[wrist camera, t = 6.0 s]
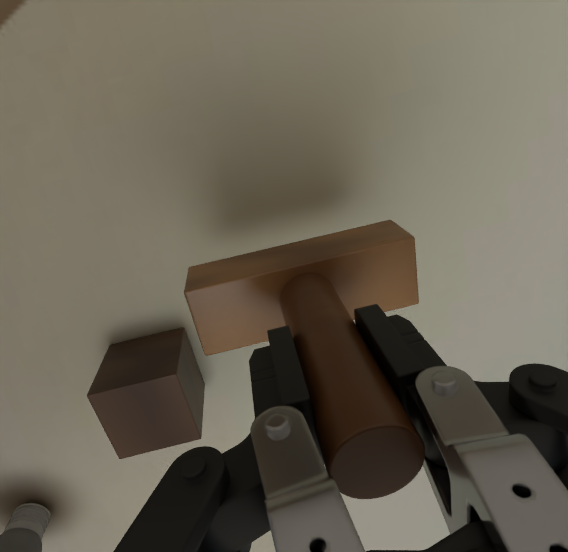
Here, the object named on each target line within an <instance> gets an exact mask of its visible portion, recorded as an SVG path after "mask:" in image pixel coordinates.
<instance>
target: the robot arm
mask: <svg viewBox="0 0 568 552" xmlns="http://www.w3.org/2000/svg"><path fill="white" fill-rule="evenodd" d="M354 317H355V324H356V326H357V328H358V330H359V332H360V333H361V335H362V337H363V338H364V340H365V342H366V344H367V345H368V347H369V349H370V350H371V352H372V354H373V356H374V357H375V359H376V361H377V362H378V364H379V366H380V368H381V369H382V371H383V373H384V374H385V376H386V378H387V380H388V381H389V383H390V385H391V386H392V388H393V390H394V392H395V393H396V395H397V397H398V398H399V400H400V402H401V404H402V405H403V407H404V409H405V410H406V412H407V414H408V416H409V417H410V419H411V421H412V423H413V424H414V426H415V428H416V429H417V431H418V433H419V435H420V436H421V438H422V440H423V442H424V446H425V459H424V463H423V467H424V469H425V472H426V474H427V477H428V479H429V482H430V484H431V487H432V489H433V491H434V494H435V496H436V499H437V501H438V504H439V506H440V509H441V511H442V514H443V516H444V519H445V521H446V524H447V526H448V529H449V532H450V535H449V536H447V537H446V538H444V539H442V540H441V541H439V542H438V543H436V544H434V545H433V546H431V547H430V548H428V549H425V550H420V551H408V550H370V551H366V552H568V372H566V371H564V370H561V369H558V368H556V367H553V366H549V365H544V364H526V365H522V366H519V367H517V368H515V369H514V370H513V371H512V372H511V374H510V377H509V382H478V381H473V380H472V378H471V377H470V376H469V375H468V374H467V373H465V372H464V371H462V370H460V369H457V368H454V367H450V366H447V365H446V364H445V363H444V362H443V361H442V359H441V358H440V357H439V356H438V354H437V353H436V352H435V351H434V350H433V348H432V347H431V346H430V345H429V344H428V342H427V341H426V340H424V338H423V336H422V335H421V334H420V333H419V332H418V330H417V329H416V328H415V327H414V326H413V324H412V323H411V322H410V321H409V320H407V319H405V318H403V317H401V316H399V315H393V316H389V317H387V316H386V315H385V313H384V312H383V311H382V309H381V308H380V307H379V305H378V304H373V305H369V306H365V307H361V308H357V309H354ZM267 333H268V338H269V343H270V346H267V347H262V348H258V349H254V352H253V354H252V356H251V358H250V360H249V365H250V373H251V374H250V375H251V382H252V383H251V384H252V394H253V403H254V413H255V420H254V422H253V423H252V426H251V431H250V434H249V435H248V436H247V437H246V438H245V439H244V440H243V441H242V442H241V443H240V444H238V445H237V446H235V447H233V448H231V449H230V450H228V451H226V452H224V453H222V454H221V453H220V451H218V450H217V449H215V448H212V447H206V446H204V447H197V448H194V449H191V450H189V451H187V452H185V453H183V454H182V455H181V456H179V457H178V458H177V459H176V460H175V461H174V462H173V463H172V465H171V466H170V467H169V469H168V470H167V472H166V473H165V475H164V476H163V478H162V479H161V481H160V482H159V484H158V485H157V487H156V488H155V490H154V491H153V493H152V494H151V496H150V497H149V499H148V500H147V502H146V503H145V505H144V506H143V508H142V509H141V511H140V512H139V514H138V516H137V517H136V519H135V520H134V522H133V523H132V525H131V526H130V528H129V529H128V531H127V532H126V534H125V535H124V537H123V538H122V540H121V541H120V543H119V544H118V546H117V547H116V549H115V550H114V552H249V551H250V548H251V543H252V542H253V541H254V540H256V539H257V538H259V537H260V536H262V535H264V534H265V533H267V532H268V531H270V530H271V533H272V537H273V541H274V546H275V550H276V552H365V550H364V547H363V545H362V543H361V540H360V538H359V536H358V533H357V531H356V529H355V526H354V524H353V522H352V519H351V517H350V515H349V512H348V510H347V508H346V505H345V503H344V501H343V498H342V496H341V494H340V491H339V489H338V487H337V484H336V482H335V480H334V478H333V477H332V476H329V475H328V473H327V470H326V468H325V466H324V460H323V456H322V453H321V449H320V446H319V442H318V438H317V435H316V429H315V426H316V423H315V418H314V413H313V409H312V404H311V400H310V396H309V392H308V389H307V386H306V382H305V379H304V375H303V372H302V369H301V365H300V362H299V358H298V355H297V352H296V348H295V345H294V341H293V338H292V334H291V331H290V328H289V325H287V326H283V327H279V328H275V329H271V330H267Z"/></svg>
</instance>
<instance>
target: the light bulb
mask: <svg viewBox="0 0 568 552" xmlns="http://www.w3.org/2000/svg"><path fill="white" fill-rule="evenodd" d="M49 520H50V512H49V511H48V509H47V508H45V507H44V506H42V505H39V504H35V503H26V504H22V505H20V506H18V507H17V508H16V509H15V511H14V513H13V515H12V517H11V519H10V521H9V523H8V525H7V527H6V529H5V531H4V532H3V534H1V535H0V552H42V542H41V540H42V537H43V534H44V532H45V529H46V527H47V524H48V522H49Z"/></svg>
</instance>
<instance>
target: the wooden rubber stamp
mask: <svg viewBox="0 0 568 552" xmlns="http://www.w3.org/2000/svg"><path fill="white" fill-rule="evenodd" d="M184 294H185V297H186V300H187V303H188V306H189V309H190V312H191V315H192V318H193V321H194V324H195V327H196V330H197V333H198V336H199V339H200V342H201V345H202V348H203V351H204V354H205V355H206V356H208V355H212V354H216V353H220V352H224V351H228V350H232V349H236V348H240V347H244V346H248V345H252V344H257V343H261V342H265V341H269V338H268V333H267V330H271V329H275V328H279V327H283V326H287V325H289V328H290V331H291V334H292V338H293V341H294V345H295V348H296V352H297V355H298V358H299V362H300V365H301V369H302V372H303V375H304V379H305V382H306V386H307V389H308V392H309V396H310V400H311V404H312V409H313V413H314V418H315V423H316V426H315V429H316V435H317V438H318V442H319V446H320V449H321V453H322V456H323V460H324V463H325V467H326V470H327V473H328V475H329V476H332V477H333V478H334V480H335V482H336V484H337V487H338V489H339V491H340V492H341V493H342V494H344V495H346V496H349V497H352V498H357V499H373V498H379V497H383V496H386V495H389V494H392V493H394V492H396V491H398V490H400V489H401V488H403V487H404V486H406V485H407V484H408V483H409V482H411V481H412V480H413V479H414V477H415V476H416V475H417V474H418V472H419V471H420V469H421V467H422V465H423V463H424V459H425V446H424V442H423V440H422V438H421V436H420V435H419V433H418V431H417V429H416V428H415V426H414V424H413V423H412V421H411V419H410V417H409V416H408V414H407V412H406V410H405V409H404V407H403V405H402V404H401V402H400V400H399V398H398V397H397V395H396V393H395V392H394V390H393V388H392V386H391V385H390V383H389V381H388V380H387V378H386V376H385V374H384V373H383V371H382V369H381V368H380V366H379V364H378V362H377V361H376V359H375V357H374V356H373V354H372V352H371V350H370V349H369V347H368V345H367V344H366V342H365V340H364V338H363V337H362V335H361V333H360V332H359V330H358V328H357V326H356V325H355V323H354V321H353V320H354V319H355V317H354V309H357V308H361V307H365V306H369V305H373V304H378V305H379V307H380V308H381V309H382V311H383V312H386V311H390V310H395V309H399V308H403V307H407V306H411V305H415V304H418V303H419V298H418V283H417V268H416V253H415V238H414V236H412V235H411V234H409V233H408V232H407V231H405V230H404V229H403V228H401V227H400V226H399V225H397V224H396V223H395V222H393V221H392V220H387V221H382V222H378V223H374V224H370V225H366V226H361V227H357V228H353V229H349V230H344V231H340V232H336V233H332V234H327V235H323V236H319V237H315V238H310V239H306V240H302V241H298V242H293V243H289V244H285V245H281V246H277V247H272V248H268V249H264V250H260V251H255V252H251V253H247V254H243V255H238V256H234V257H230V258H226V259H221V260H217V261H213V262H209V263H205V264H200V265H196V266H192V267H189V269H188V274H187V279H186V285H185V290H184Z"/></svg>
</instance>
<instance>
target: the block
mask: <svg viewBox="0 0 568 552" xmlns="http://www.w3.org/2000/svg"><path fill="white" fill-rule="evenodd" d="M204 389H205V385H204V382H203V379H202V376H201V374H200V371H199V368H198V365H197V362H196V359H195V357H194V354H193V351H192V348H191V345H190V343H189V340H188V337H187V334H186V331H185V328H179V329H175V330H171V331H167V332H163V333H159V334H154V335H150V336H146V337H142V338H138V339H134V340H129V341H125V342H121V343H117V344H113V345H110V346H109V348H108V350H107V352H106V354H105V356H104V359H103V361H102V363H101V365H100V367H99V370H98V372H97V374H96V376H95V379H94V381H93V383H92V385H91V387H90V390H89V392H88V394H87V397H88V399H89V401H90V403H91V405H92V407H93V409H94V411H95V413H96V415H97V416H98V418H99V420H100V422H101V424H102V426H103V428H104V430H105V432H106V434H107V436H108V438H109V440H110V442H111V444H112V445H113V447H114V449H115V451H116V453H117V455H118V457H119V459H123V458H126V457H130V456H134V455H138V454H142V453H146V452H150V451H154V450H158V449H162V448H166V447H170V446H174V445H178V444H182V443H186V442H190V441H194V440H198V439H201V434H202V419H203V404H204Z"/></svg>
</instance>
